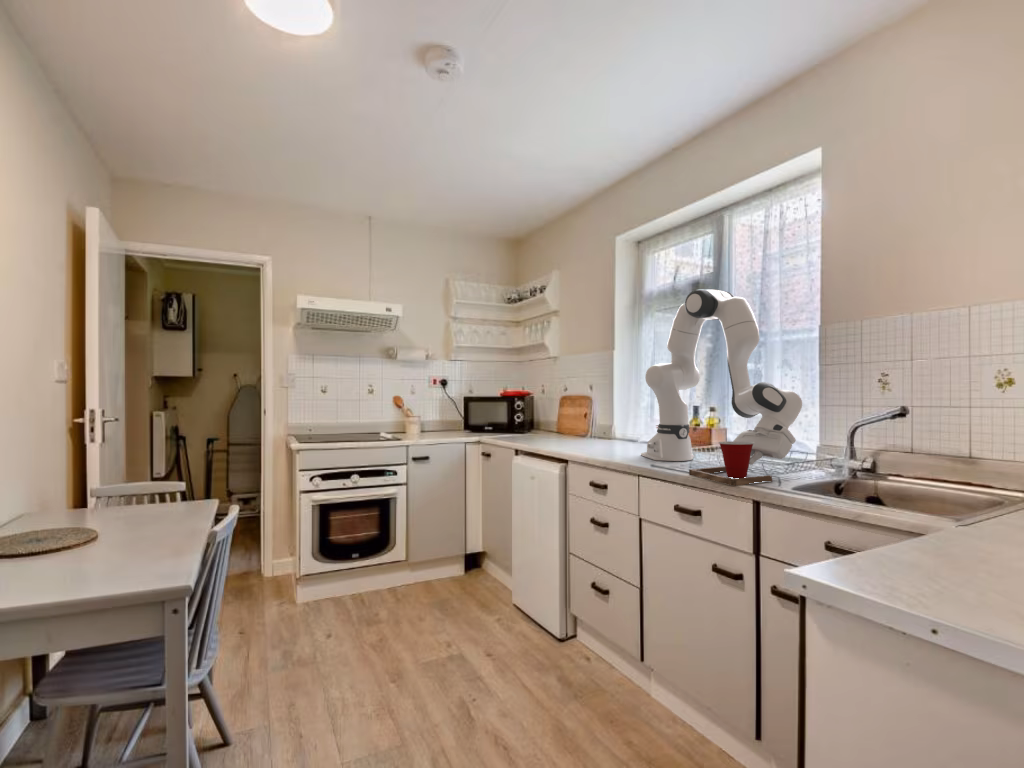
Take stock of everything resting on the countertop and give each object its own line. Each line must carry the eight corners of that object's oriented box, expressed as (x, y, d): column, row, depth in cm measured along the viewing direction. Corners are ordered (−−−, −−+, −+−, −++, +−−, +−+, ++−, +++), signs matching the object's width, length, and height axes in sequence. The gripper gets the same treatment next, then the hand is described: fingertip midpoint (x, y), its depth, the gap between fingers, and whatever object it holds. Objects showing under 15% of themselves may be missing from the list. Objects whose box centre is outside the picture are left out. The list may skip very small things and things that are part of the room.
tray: (689, 474, 170) (689, 469, 170) (724, 471, 175) (724, 466, 175) (733, 486, 151) (733, 480, 151) (772, 481, 156) (771, 475, 156)
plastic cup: (749, 474, 168) (748, 439, 168) (759, 481, 157) (758, 443, 157) (715, 474, 170) (714, 439, 170) (722, 480, 159) (722, 443, 159)
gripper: (740, 423, 178) (719, 452, 175) (789, 427, 159) (767, 461, 155) (750, 435, 179) (729, 464, 176) (800, 440, 160) (778, 474, 157)
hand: (747, 463), depth 166 cm, fingers closed, pressing on plastic cup
